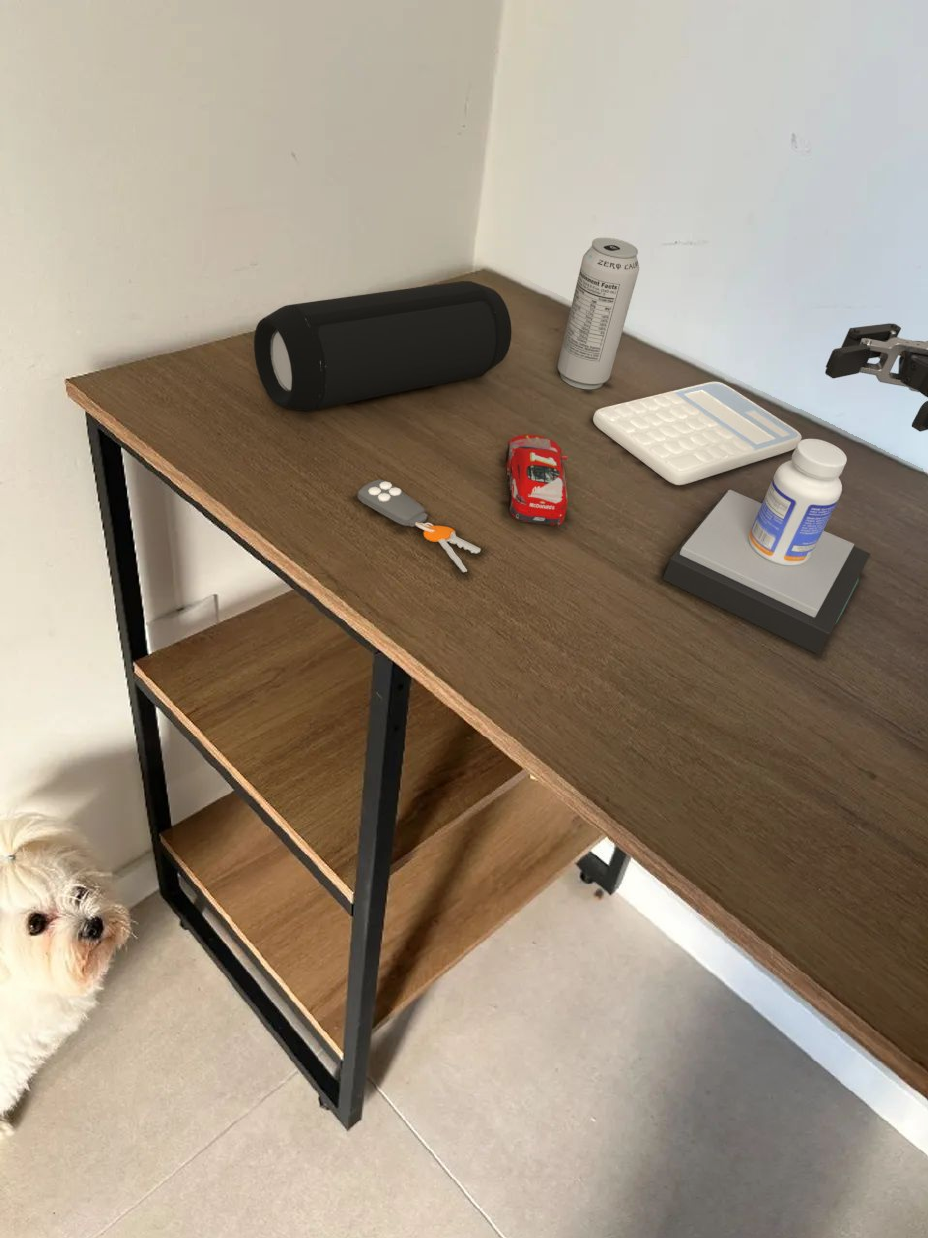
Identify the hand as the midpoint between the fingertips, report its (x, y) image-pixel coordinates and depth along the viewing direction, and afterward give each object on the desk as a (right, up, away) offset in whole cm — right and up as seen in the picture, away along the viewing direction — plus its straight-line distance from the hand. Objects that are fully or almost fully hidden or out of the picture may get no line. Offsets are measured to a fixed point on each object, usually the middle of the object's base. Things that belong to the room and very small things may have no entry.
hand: (874, 390), depth 71 cm
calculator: (-7, +2, +28) cm, 29 cm away
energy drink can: (-18, +10, +35) cm, 40 cm away
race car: (-25, -6, +16) cm, 30 cm away
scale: (-5, -14, +11) cm, 18 cm away
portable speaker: (-40, +6, +26) cm, 48 cm away
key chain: (-35, -10, +9) cm, 38 cm away
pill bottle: (-5, -12, +9) cm, 15 cm away
